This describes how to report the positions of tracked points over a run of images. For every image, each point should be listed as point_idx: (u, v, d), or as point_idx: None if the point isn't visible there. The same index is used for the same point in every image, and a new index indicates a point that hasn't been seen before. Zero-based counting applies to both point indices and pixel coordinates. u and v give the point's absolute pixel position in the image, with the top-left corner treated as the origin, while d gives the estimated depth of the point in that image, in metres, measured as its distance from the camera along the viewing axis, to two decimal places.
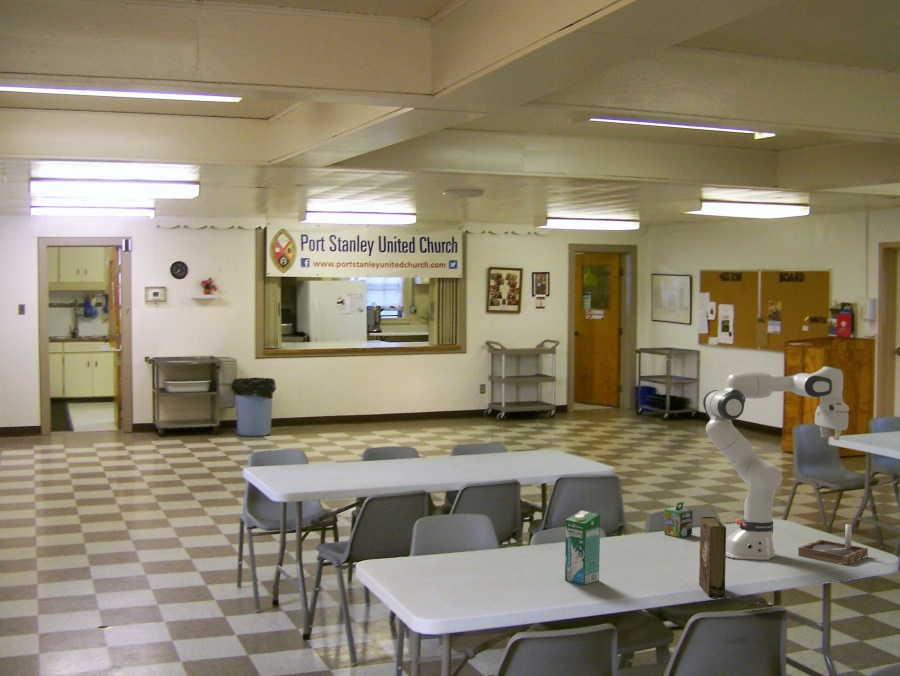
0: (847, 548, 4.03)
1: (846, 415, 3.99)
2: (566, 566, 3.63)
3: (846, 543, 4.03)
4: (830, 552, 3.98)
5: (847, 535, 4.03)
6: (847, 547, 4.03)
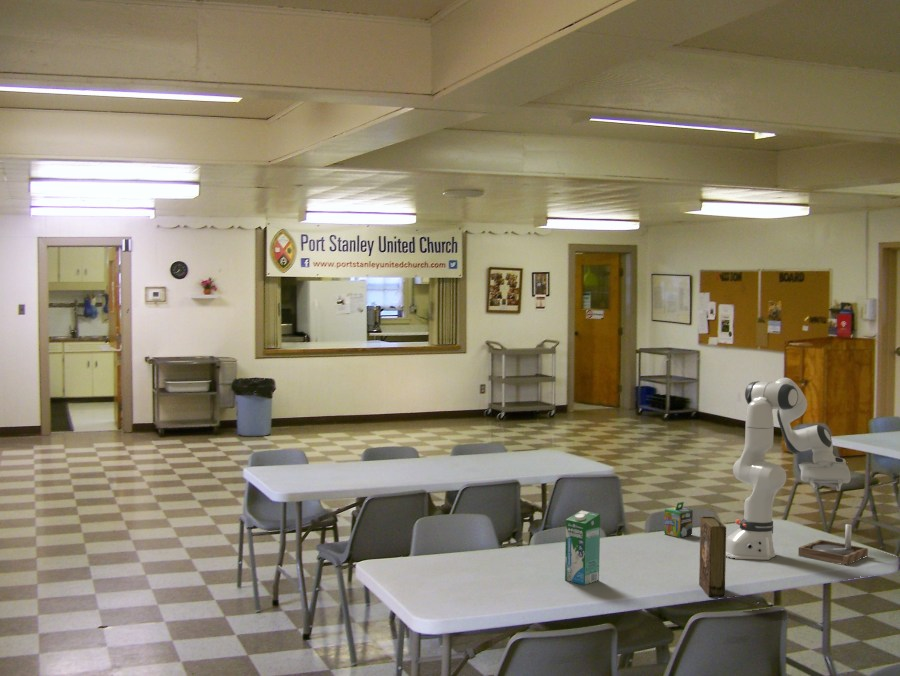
0: (847, 548, 4.03)
1: None
2: (566, 566, 3.63)
3: (846, 543, 4.03)
4: (830, 552, 3.98)
5: (847, 535, 4.03)
6: (847, 547, 4.03)
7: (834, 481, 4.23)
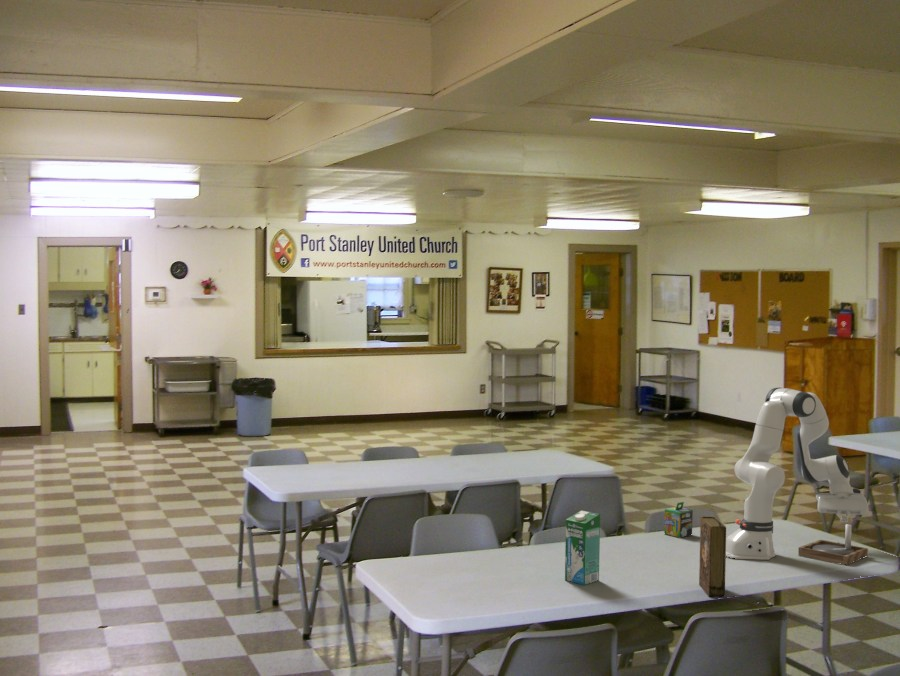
0: (847, 548, 4.03)
1: None
2: (566, 566, 3.63)
3: (846, 543, 4.03)
4: (830, 552, 3.98)
5: (847, 535, 4.03)
6: (847, 547, 4.03)
7: (852, 513, 4.16)
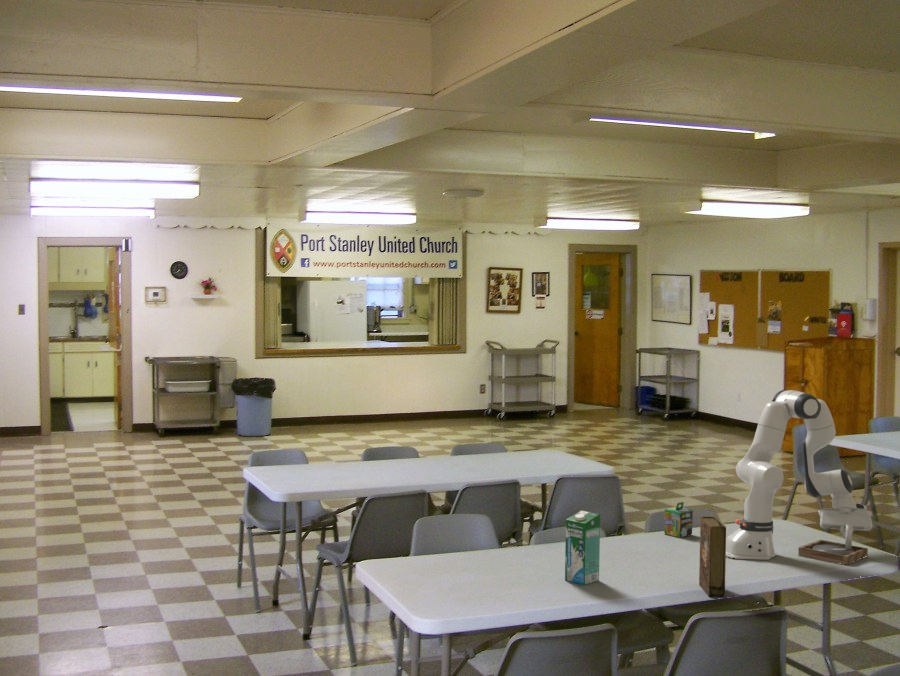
0: (847, 548, 4.03)
1: None
2: (566, 566, 3.63)
3: (846, 543, 4.03)
4: None
5: (847, 535, 4.03)
6: (847, 547, 4.03)
7: (855, 528, 4.09)
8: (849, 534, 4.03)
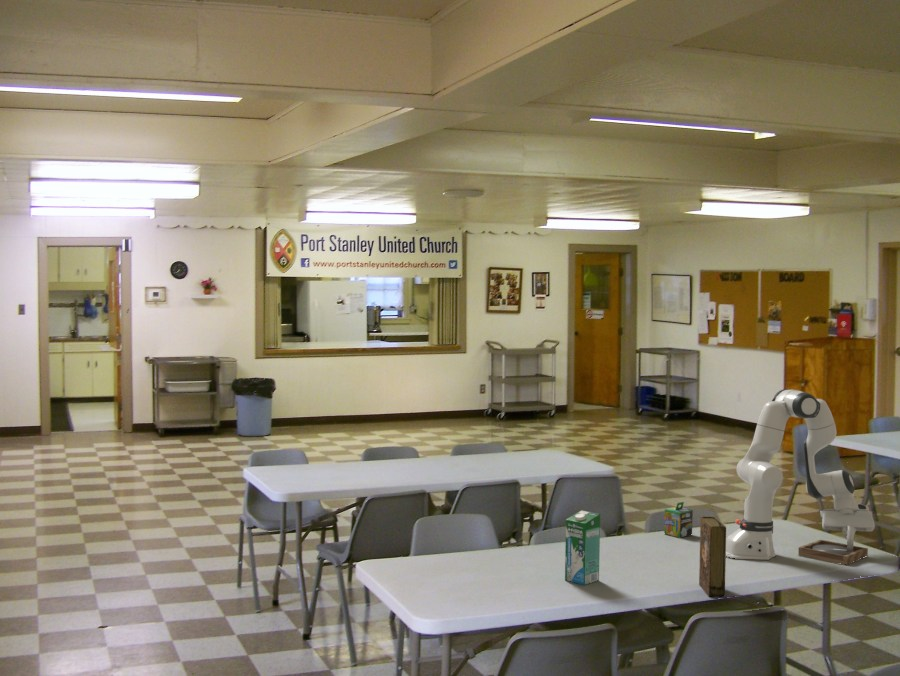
0: (848, 549, 4.01)
1: None
2: (566, 566, 3.63)
3: (847, 544, 4.01)
4: None
5: (848, 536, 4.01)
6: (848, 548, 4.01)
7: (857, 529, 4.07)
8: (850, 535, 4.00)
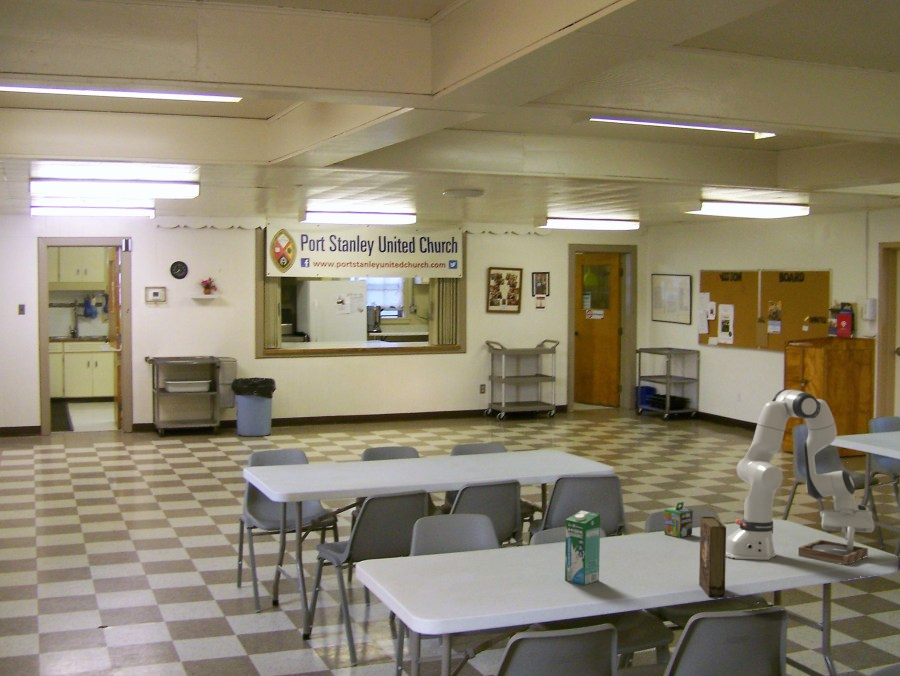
0: (847, 550, 4.00)
1: None
2: (566, 566, 3.63)
3: (847, 545, 4.00)
4: (821, 550, 4.01)
5: (848, 537, 4.00)
6: (847, 549, 4.00)
7: (857, 530, 4.06)
8: (849, 536, 3.99)
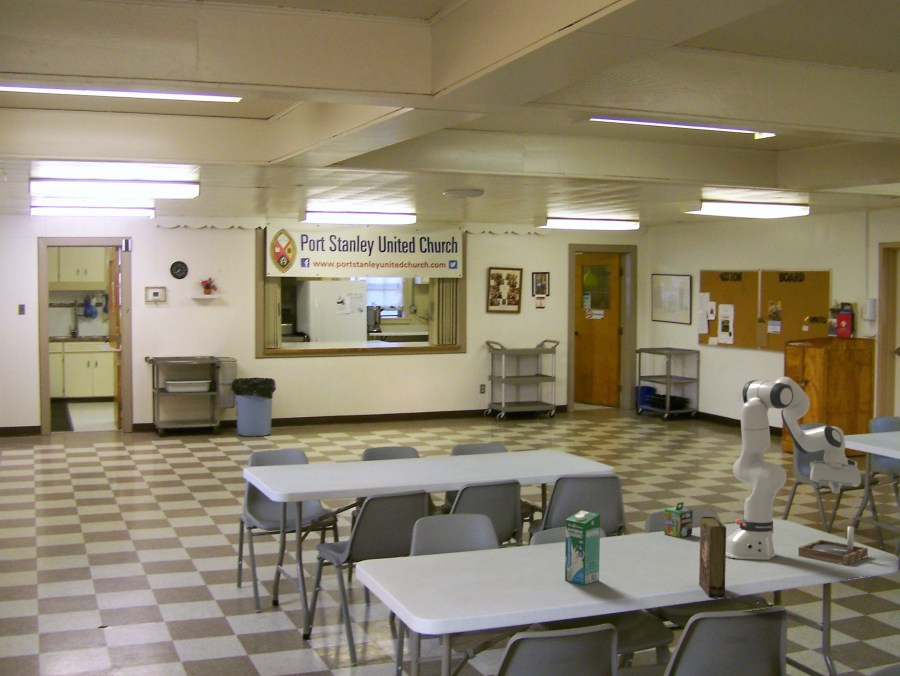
0: (847, 550, 4.00)
1: None
2: (566, 566, 3.63)
3: (847, 545, 4.00)
4: (821, 550, 4.01)
5: (848, 537, 4.00)
6: (847, 549, 4.00)
7: (843, 483, 4.18)
8: (849, 536, 3.99)
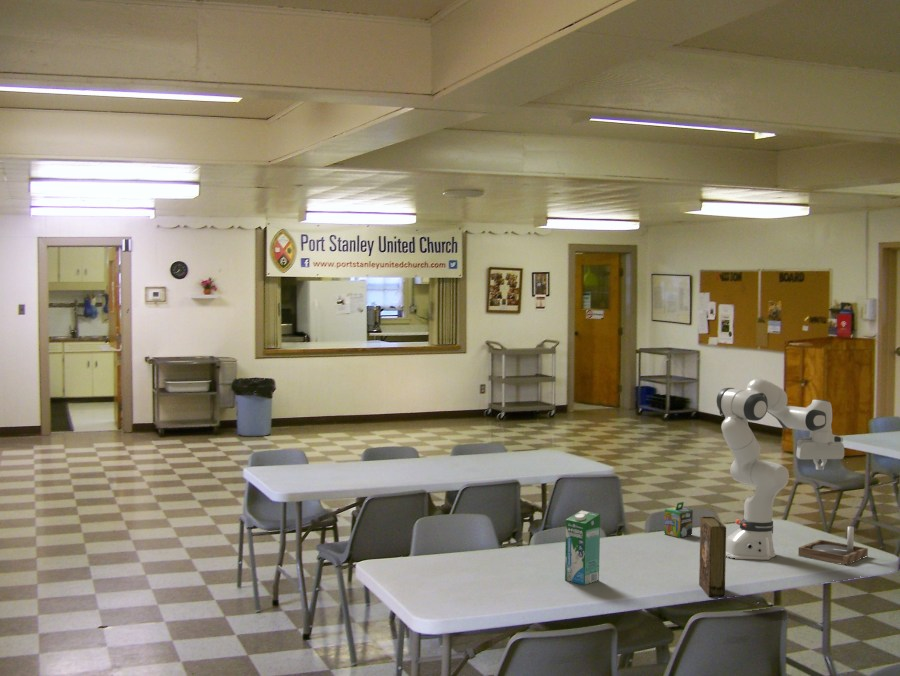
0: (847, 550, 4.00)
1: None
2: (566, 566, 3.63)
3: (847, 545, 4.00)
4: (821, 550, 4.01)
5: (848, 537, 4.00)
6: (847, 549, 4.00)
7: None
8: (849, 536, 3.99)
